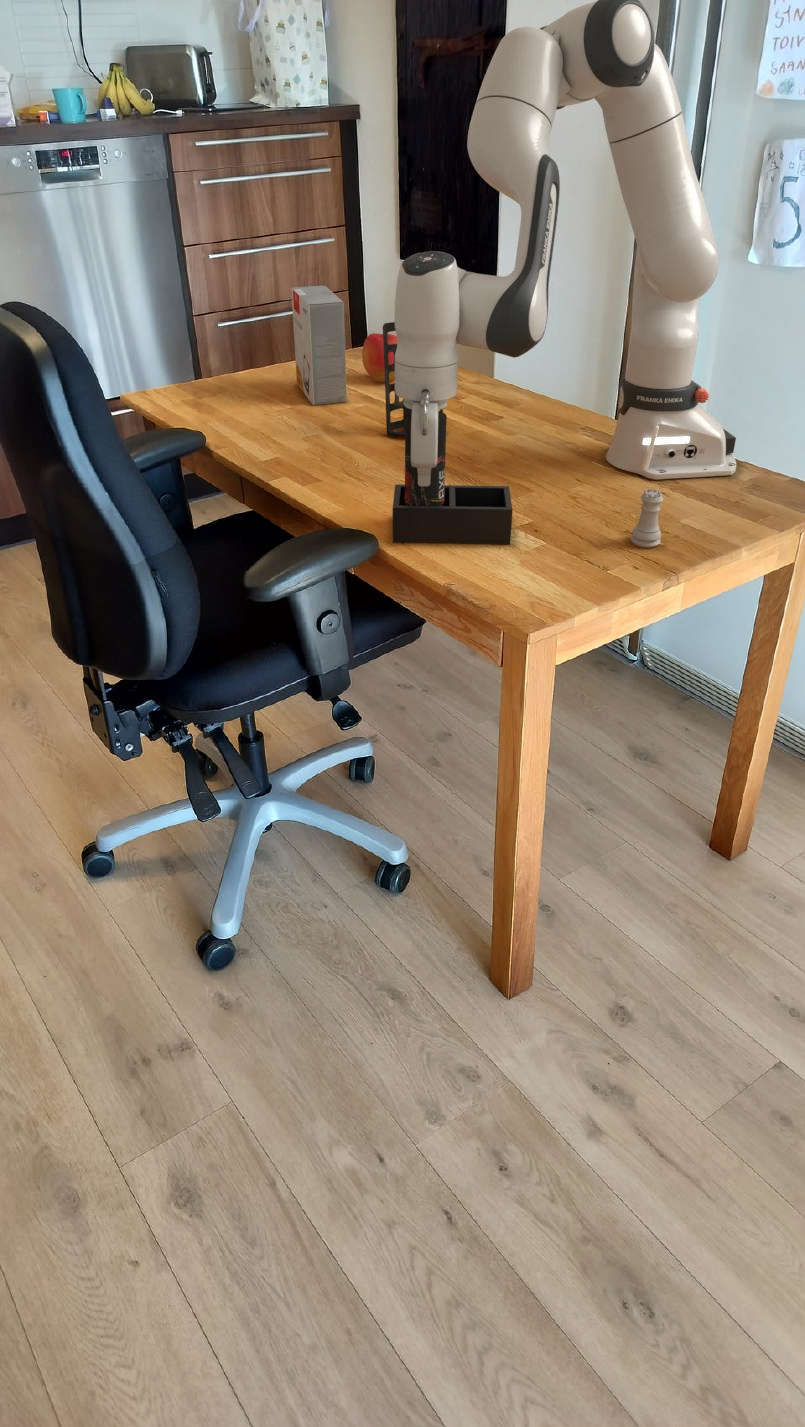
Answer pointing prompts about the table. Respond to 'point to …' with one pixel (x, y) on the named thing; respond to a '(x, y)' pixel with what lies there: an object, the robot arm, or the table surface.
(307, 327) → the hard drive box
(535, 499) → the table surface
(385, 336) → the holder
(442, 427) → the deodorant
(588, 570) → the table surface
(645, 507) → the rook chess piece
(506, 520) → the box
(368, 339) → the apple
